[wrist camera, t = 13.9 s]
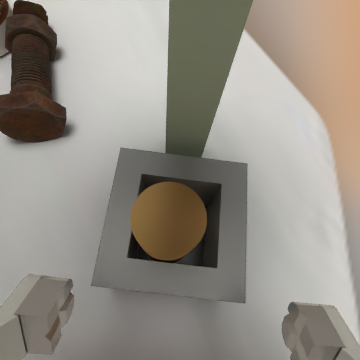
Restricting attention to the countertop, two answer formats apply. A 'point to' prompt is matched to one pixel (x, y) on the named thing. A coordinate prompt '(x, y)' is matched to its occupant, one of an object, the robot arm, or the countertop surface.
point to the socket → (214, 235)
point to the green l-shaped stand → (199, 67)
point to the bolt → (30, 77)
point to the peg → (168, 221)
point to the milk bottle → (4, 23)
